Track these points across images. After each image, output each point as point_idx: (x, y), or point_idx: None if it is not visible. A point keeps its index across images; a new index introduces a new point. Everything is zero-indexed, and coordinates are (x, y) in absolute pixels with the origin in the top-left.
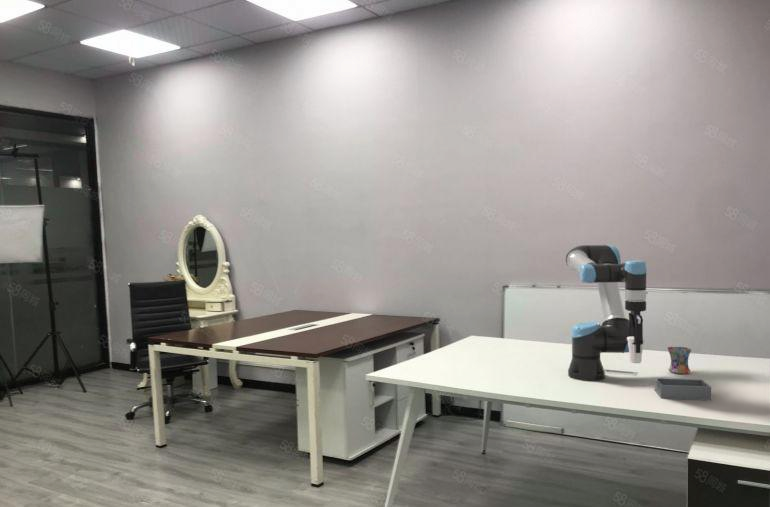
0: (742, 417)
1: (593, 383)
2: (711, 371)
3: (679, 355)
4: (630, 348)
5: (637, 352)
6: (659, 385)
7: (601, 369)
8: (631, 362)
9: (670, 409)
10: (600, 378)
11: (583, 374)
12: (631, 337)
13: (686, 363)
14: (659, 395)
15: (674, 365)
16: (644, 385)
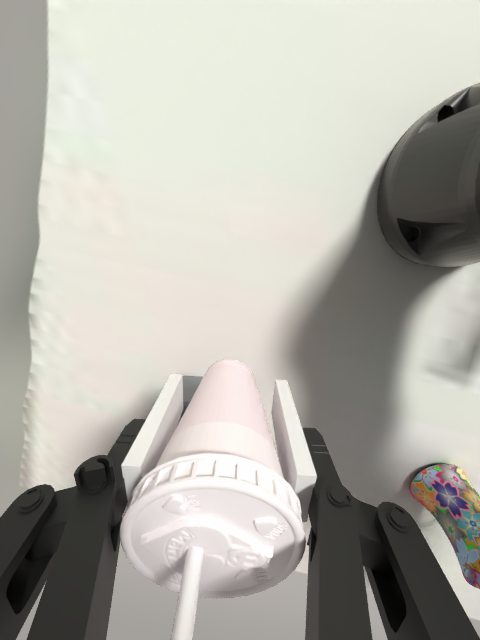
0: (65, 484)
1: (340, 198)
2: (428, 535)
3: (461, 539)
4: (194, 412)
5: (132, 428)
6: (185, 397)
7: (429, 247)
8: (218, 361)
9: (75, 371)
10: (389, 238)
11: (406, 152)
12: (245, 521)
13: (438, 521)
14: (192, 378)
15: (444, 490)
16: (308, 367)
